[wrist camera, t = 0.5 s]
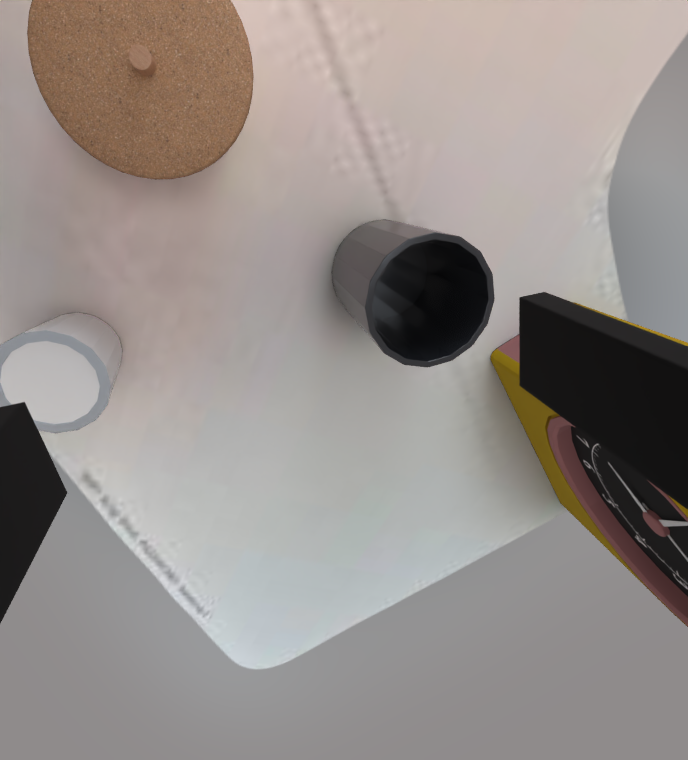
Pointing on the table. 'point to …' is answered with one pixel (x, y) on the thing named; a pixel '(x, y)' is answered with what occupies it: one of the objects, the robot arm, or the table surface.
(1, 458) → the robot arm
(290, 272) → the table surface
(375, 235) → the pen cup
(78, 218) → the table surface
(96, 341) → the white cylinder
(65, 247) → the table surface
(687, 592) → the alarm clock
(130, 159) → the trinket box
